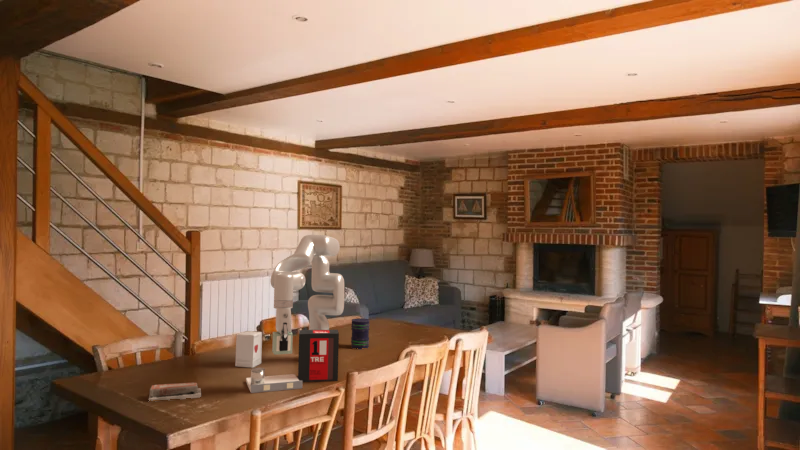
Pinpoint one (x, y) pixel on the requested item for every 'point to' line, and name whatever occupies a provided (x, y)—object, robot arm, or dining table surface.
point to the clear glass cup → (257, 376)
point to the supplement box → (248, 349)
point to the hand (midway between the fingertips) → (282, 348)
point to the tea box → (277, 343)
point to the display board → (276, 383)
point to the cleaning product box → (318, 355)
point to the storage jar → (360, 333)
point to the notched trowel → (174, 391)
